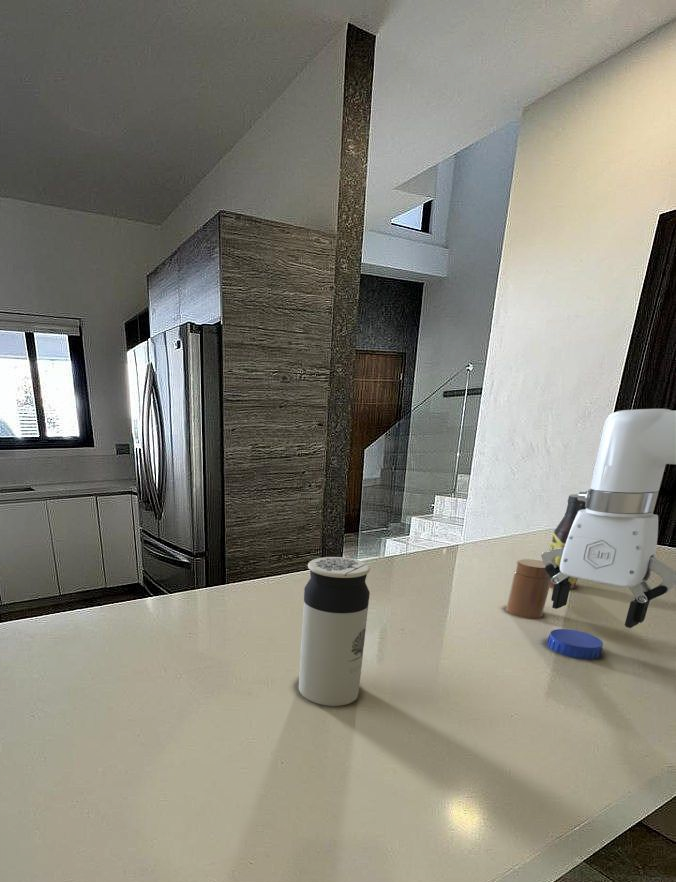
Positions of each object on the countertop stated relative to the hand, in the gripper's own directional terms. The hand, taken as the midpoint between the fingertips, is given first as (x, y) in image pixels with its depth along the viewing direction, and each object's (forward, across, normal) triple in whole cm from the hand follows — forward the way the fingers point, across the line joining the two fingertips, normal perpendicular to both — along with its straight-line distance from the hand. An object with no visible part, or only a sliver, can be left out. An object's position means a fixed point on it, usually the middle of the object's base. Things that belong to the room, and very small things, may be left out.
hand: (593, 615), depth 73 cm
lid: (+4, -1, -1) cm, 5 cm away
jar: (+6, -14, +8) cm, 17 cm away
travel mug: (+5, -13, -42) cm, 44 cm away
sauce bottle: (+6, -18, +31) cm, 36 cm away
